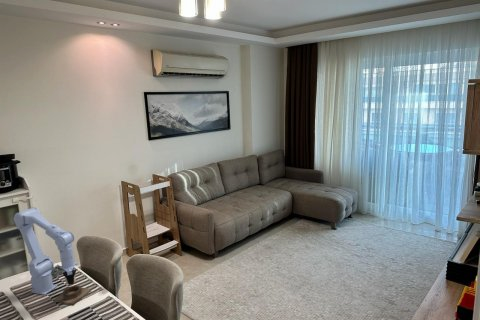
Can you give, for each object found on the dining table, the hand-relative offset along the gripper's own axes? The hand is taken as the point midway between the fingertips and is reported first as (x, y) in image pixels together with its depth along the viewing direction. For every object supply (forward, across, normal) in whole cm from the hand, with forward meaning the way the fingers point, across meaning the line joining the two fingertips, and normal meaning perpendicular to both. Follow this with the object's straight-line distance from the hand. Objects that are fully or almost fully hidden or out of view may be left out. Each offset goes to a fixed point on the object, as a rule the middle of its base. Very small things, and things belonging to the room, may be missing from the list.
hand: (70, 281), depth 160 cm
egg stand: (+8, 0, 0) cm, 8 cm away
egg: (-1, 0, 0) cm, 1 cm away
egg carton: (+9, +28, +8) cm, 31 cm away
